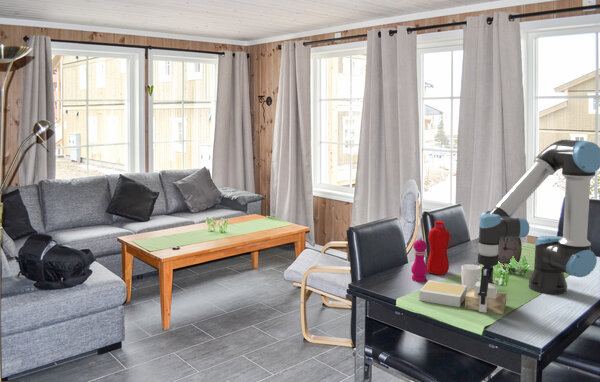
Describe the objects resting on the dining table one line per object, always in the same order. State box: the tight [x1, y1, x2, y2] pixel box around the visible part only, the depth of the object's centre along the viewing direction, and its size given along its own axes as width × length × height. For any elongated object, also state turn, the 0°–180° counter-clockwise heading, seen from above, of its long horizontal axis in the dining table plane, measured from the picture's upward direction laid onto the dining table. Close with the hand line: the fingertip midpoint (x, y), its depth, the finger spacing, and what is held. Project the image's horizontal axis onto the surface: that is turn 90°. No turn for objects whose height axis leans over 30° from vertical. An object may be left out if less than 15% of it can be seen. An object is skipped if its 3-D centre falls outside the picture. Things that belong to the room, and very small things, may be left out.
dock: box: [418, 279, 468, 308], centre depth 217 cm, size 16×16×4 cm
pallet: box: [464, 289, 507, 315], centre depth 207 cm, size 14×10×5 cm
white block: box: [474, 281, 499, 299], centre depth 206 cm, size 8×6×4 cm
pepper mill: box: [410, 236, 428, 283], centre depth 240 cm, size 7×7×20 cm
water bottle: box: [426, 220, 453, 276], centre depth 250 cm, size 9×11×25 cm
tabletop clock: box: [497, 237, 522, 266], centre depth 257 cm, size 14×9×25 cm, turn 73°
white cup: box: [460, 263, 482, 292], centre depth 227 cm, size 8×8×10 cm
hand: (485, 306), depth 207 cm, fingers open, 13 cm apart
